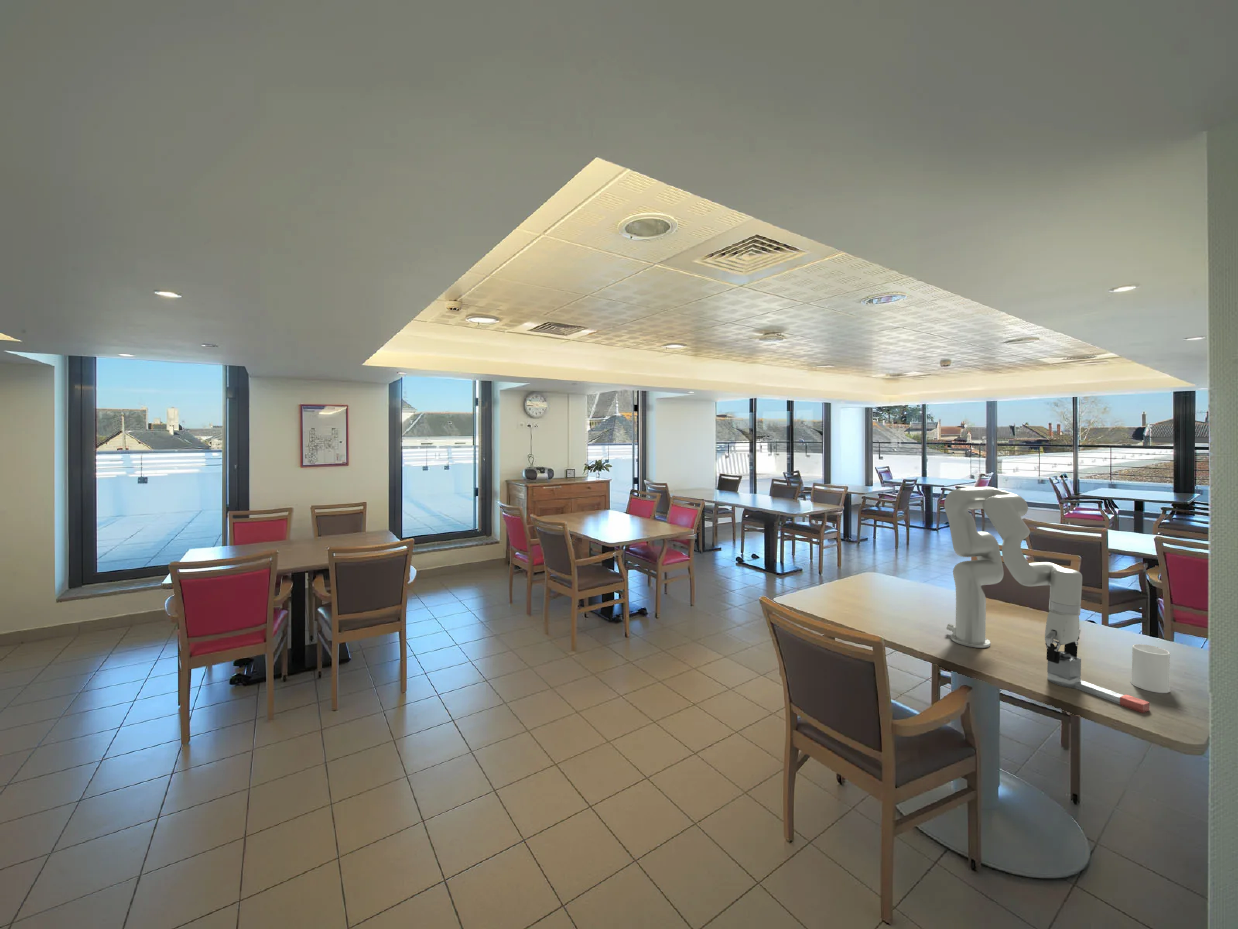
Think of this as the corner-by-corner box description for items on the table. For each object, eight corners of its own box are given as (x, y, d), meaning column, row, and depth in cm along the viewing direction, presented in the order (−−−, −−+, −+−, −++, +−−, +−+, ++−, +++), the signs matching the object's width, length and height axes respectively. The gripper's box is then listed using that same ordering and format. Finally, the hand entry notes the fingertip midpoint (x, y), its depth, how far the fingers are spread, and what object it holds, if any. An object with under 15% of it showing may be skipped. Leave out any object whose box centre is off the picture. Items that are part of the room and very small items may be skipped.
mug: (1154, 678, 162) (1155, 642, 161) (1187, 691, 153) (1188, 653, 153) (1122, 681, 160) (1123, 644, 160) (1153, 694, 152) (1154, 655, 151)
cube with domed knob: (1047, 672, 162) (1047, 651, 162) (1058, 668, 164) (1058, 648, 164) (1069, 680, 156) (1070, 658, 156) (1080, 676, 159) (1081, 655, 158)
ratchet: (1041, 679, 162) (1042, 659, 162) (1056, 674, 166) (1056, 655, 165) (1138, 715, 141) (1139, 692, 140) (1153, 708, 144) (1153, 686, 144)
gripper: (1066, 599, 166) (1063, 649, 167) (1034, 607, 160) (1032, 659, 161) (1094, 607, 159) (1091, 659, 161) (1062, 615, 153) (1059, 669, 154)
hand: (1061, 659), depth 161 cm, fingers open, 9 cm apart
